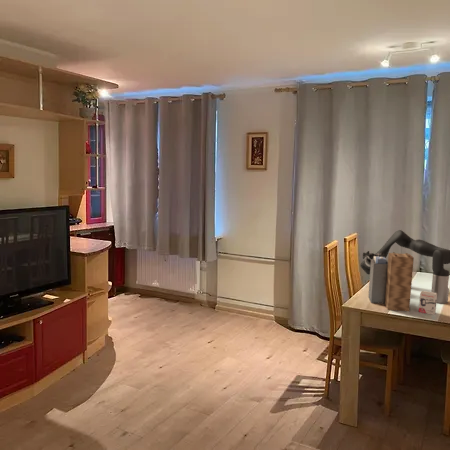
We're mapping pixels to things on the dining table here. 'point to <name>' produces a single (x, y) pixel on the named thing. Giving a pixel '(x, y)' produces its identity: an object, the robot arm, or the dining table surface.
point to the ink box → (427, 302)
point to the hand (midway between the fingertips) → (375, 252)
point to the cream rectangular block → (380, 260)
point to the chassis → (378, 282)
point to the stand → (399, 281)
